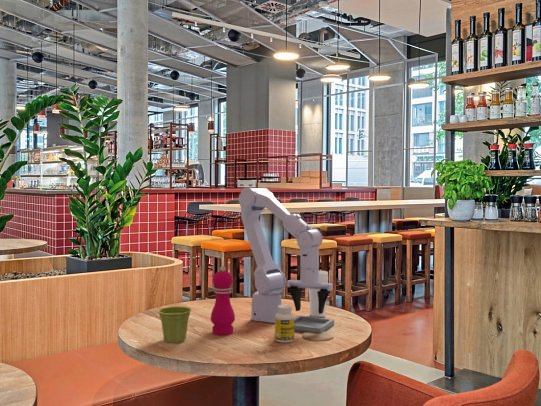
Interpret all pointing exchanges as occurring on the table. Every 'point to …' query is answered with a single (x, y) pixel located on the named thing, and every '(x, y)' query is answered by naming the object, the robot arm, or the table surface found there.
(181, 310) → the plant pot
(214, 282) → the pepper mill
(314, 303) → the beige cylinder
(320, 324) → the tray
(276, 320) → the supplement bottle
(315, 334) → the cork coaster
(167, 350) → the table surface
